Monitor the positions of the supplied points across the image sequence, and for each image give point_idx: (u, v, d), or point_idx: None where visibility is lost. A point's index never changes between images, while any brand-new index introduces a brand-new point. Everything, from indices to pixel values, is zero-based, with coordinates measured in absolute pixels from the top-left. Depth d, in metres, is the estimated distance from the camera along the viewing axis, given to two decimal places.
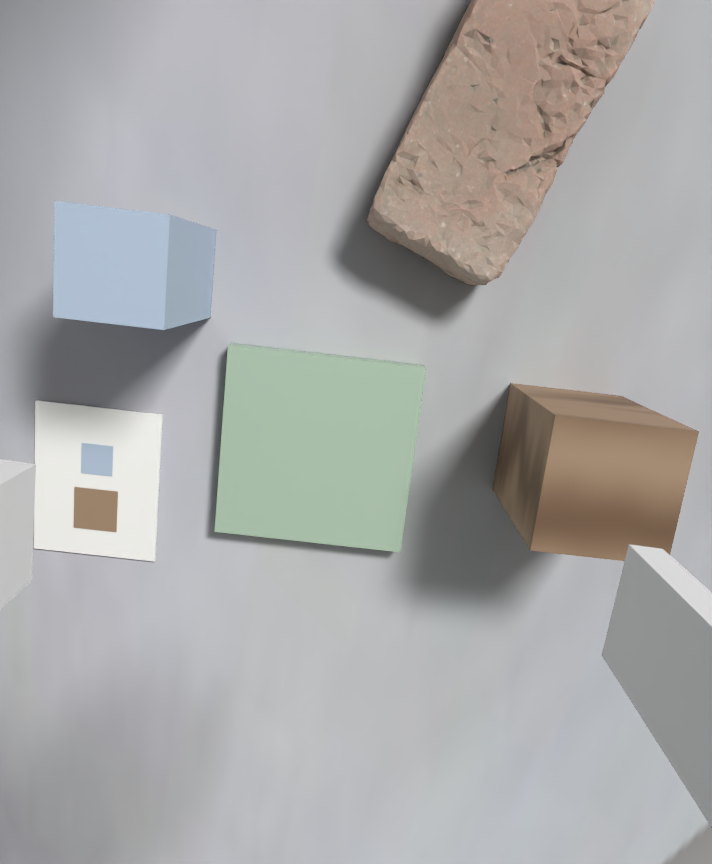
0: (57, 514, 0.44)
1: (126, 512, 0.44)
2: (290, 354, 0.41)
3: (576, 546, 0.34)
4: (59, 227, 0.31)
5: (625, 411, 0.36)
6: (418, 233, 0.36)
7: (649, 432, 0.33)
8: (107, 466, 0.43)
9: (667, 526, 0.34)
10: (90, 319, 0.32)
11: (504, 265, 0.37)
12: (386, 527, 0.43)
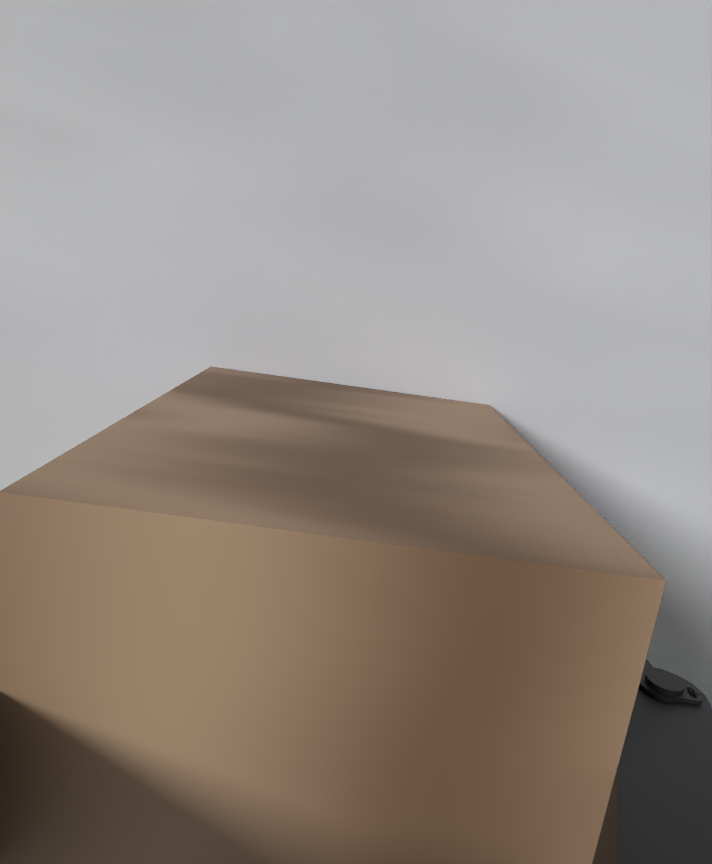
0: None
1: None
2: None
3: None
4: None
5: None
6: None
7: (23, 696, 0.07)
8: None
9: (465, 593, 0.07)
10: None
11: None
12: None
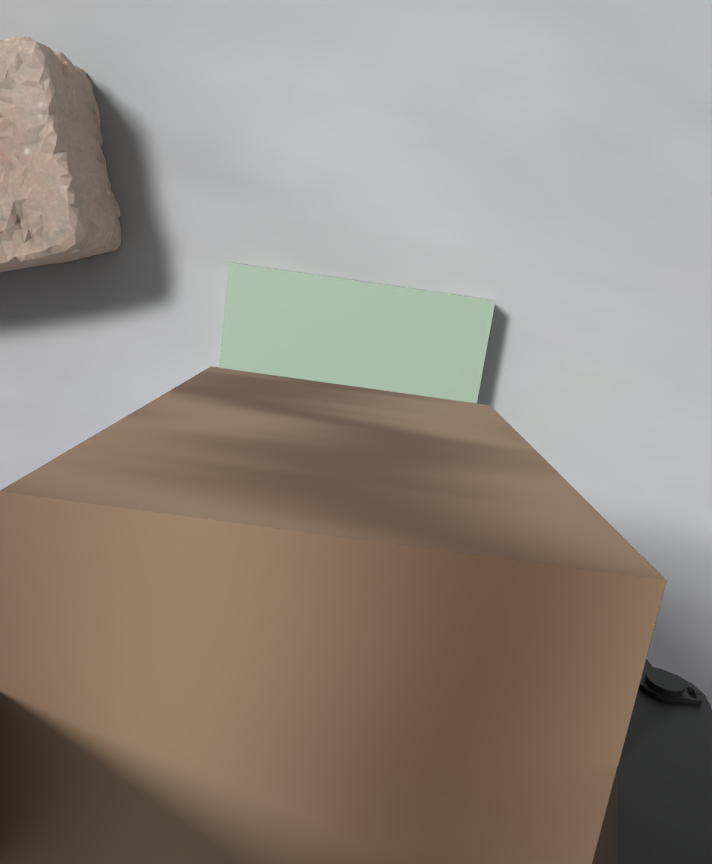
0: None
1: None
2: None
3: None
4: None
5: None
6: (57, 171, 0.26)
7: (23, 695, 0.07)
8: None
9: (465, 593, 0.07)
10: None
11: (9, 40, 0.26)
12: (455, 320, 0.30)
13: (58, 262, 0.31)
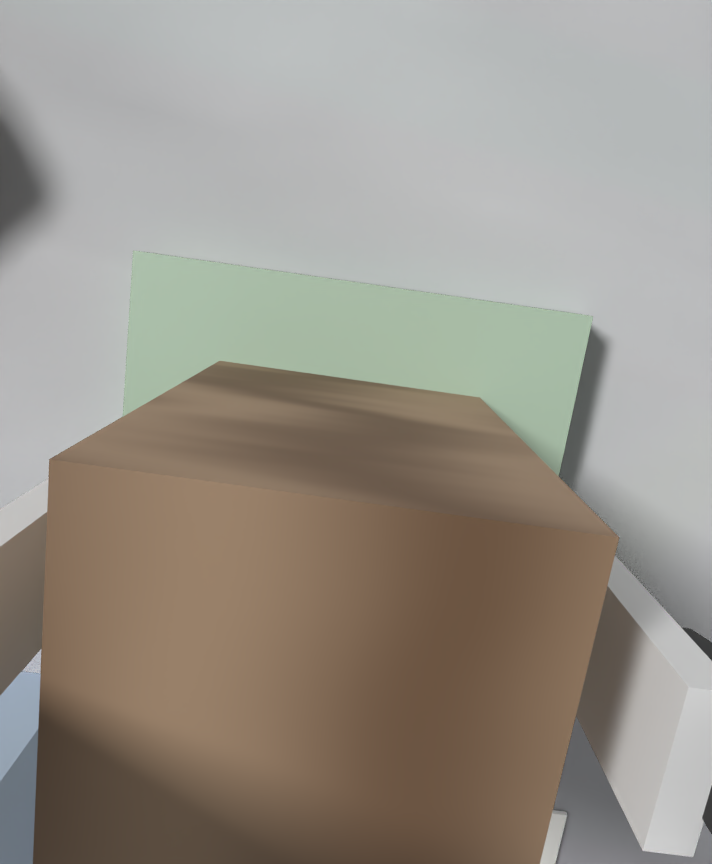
0: None
1: None
2: None
3: (505, 853, 0.09)
4: None
5: None
6: None
7: (67, 637, 0.09)
8: None
9: (447, 548, 0.08)
10: None
11: None
12: (524, 349, 0.18)
13: None
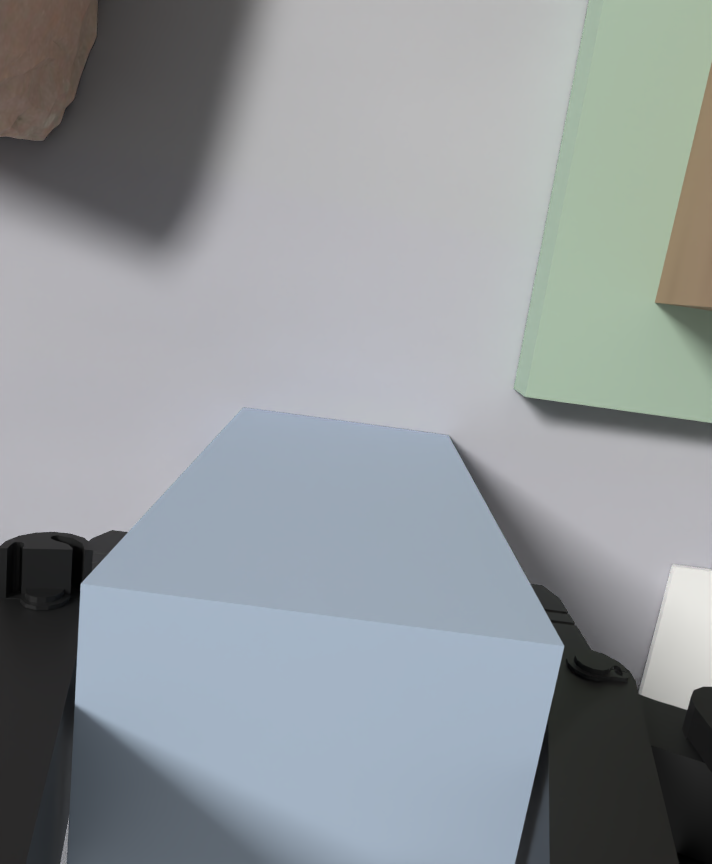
0: None
1: None
2: (565, 227, 0.15)
3: None
4: None
5: None
6: None
7: None
8: None
9: None
10: None
11: None
12: None
13: None
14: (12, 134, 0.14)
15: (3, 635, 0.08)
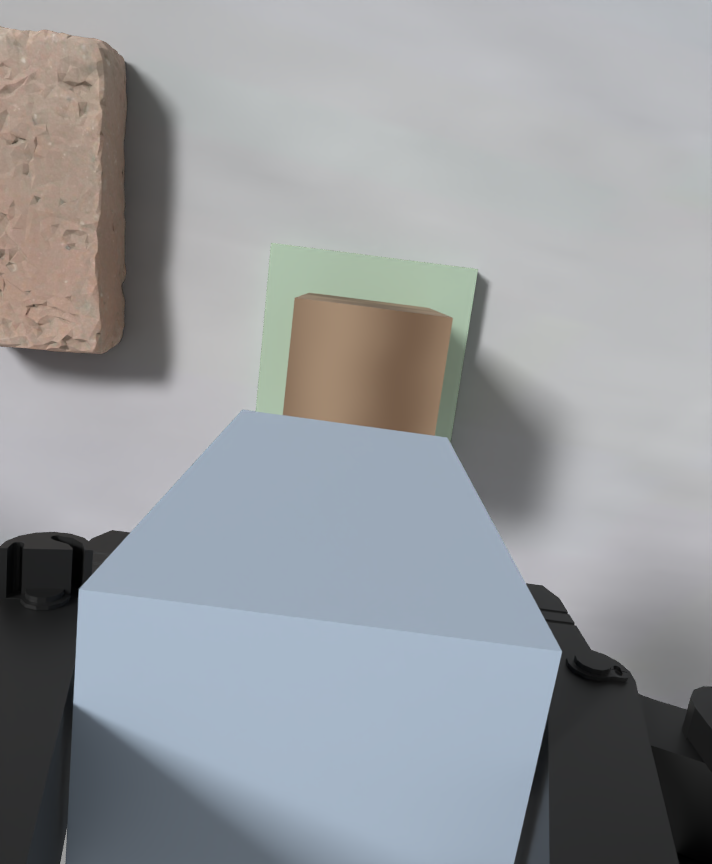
0: None
1: None
2: (260, 384, 0.40)
3: (425, 421, 0.31)
4: None
5: None
6: (41, 38, 0.34)
7: (296, 351, 0.30)
8: None
9: (405, 322, 0.30)
10: None
11: None
12: (447, 285, 0.39)
13: (124, 113, 0.38)
14: None
15: (3, 635, 0.08)
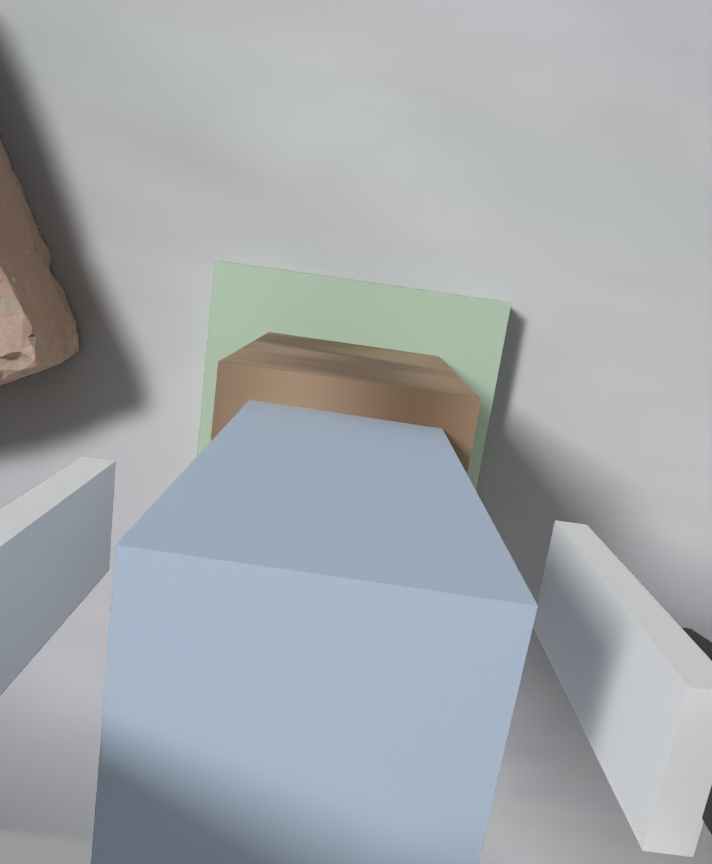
0: None
1: None
2: None
3: None
4: None
5: None
6: None
7: None
8: None
9: (401, 404, 0.18)
10: (476, 837, 0.09)
11: None
12: (467, 324, 0.27)
13: None
14: (67, 356, 0.27)
15: None
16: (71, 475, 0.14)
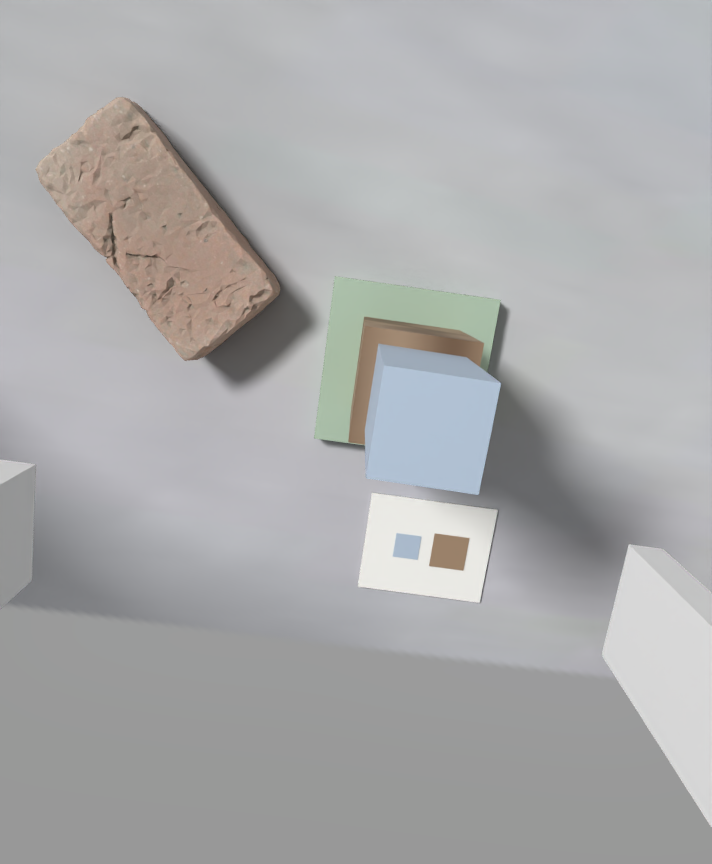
0: (451, 581, 0.54)
1: (453, 528, 0.54)
2: (322, 389, 0.50)
3: None
4: (391, 476, 0.31)
5: None
6: (89, 125, 0.43)
7: (364, 366, 0.39)
8: (413, 539, 0.54)
9: (447, 345, 0.39)
10: (483, 458, 0.30)
11: (44, 186, 0.45)
12: (475, 312, 0.49)
13: (165, 137, 0.47)
14: (279, 291, 0.48)
15: None
16: None
